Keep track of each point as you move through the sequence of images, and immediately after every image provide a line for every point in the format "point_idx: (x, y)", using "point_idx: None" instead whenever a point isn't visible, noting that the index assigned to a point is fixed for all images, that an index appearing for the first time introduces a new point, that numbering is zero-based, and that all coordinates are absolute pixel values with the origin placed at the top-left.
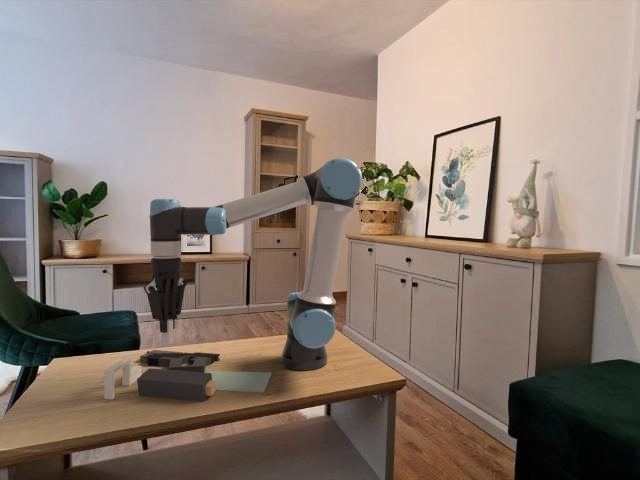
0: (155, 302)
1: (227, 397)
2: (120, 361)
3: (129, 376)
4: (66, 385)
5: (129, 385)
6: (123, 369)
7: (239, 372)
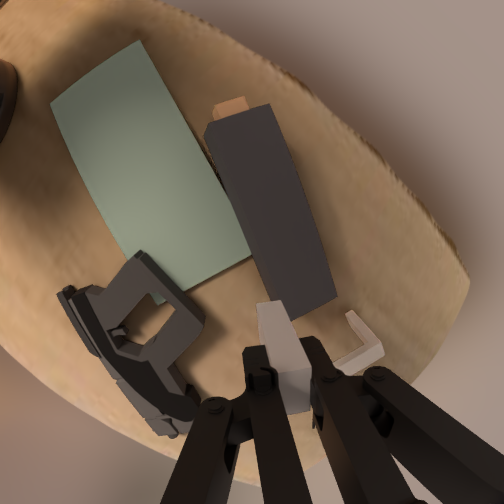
0: (472, 434)
1: (200, 91)
2: None
3: None
4: None
5: None
6: None
7: (82, 170)
